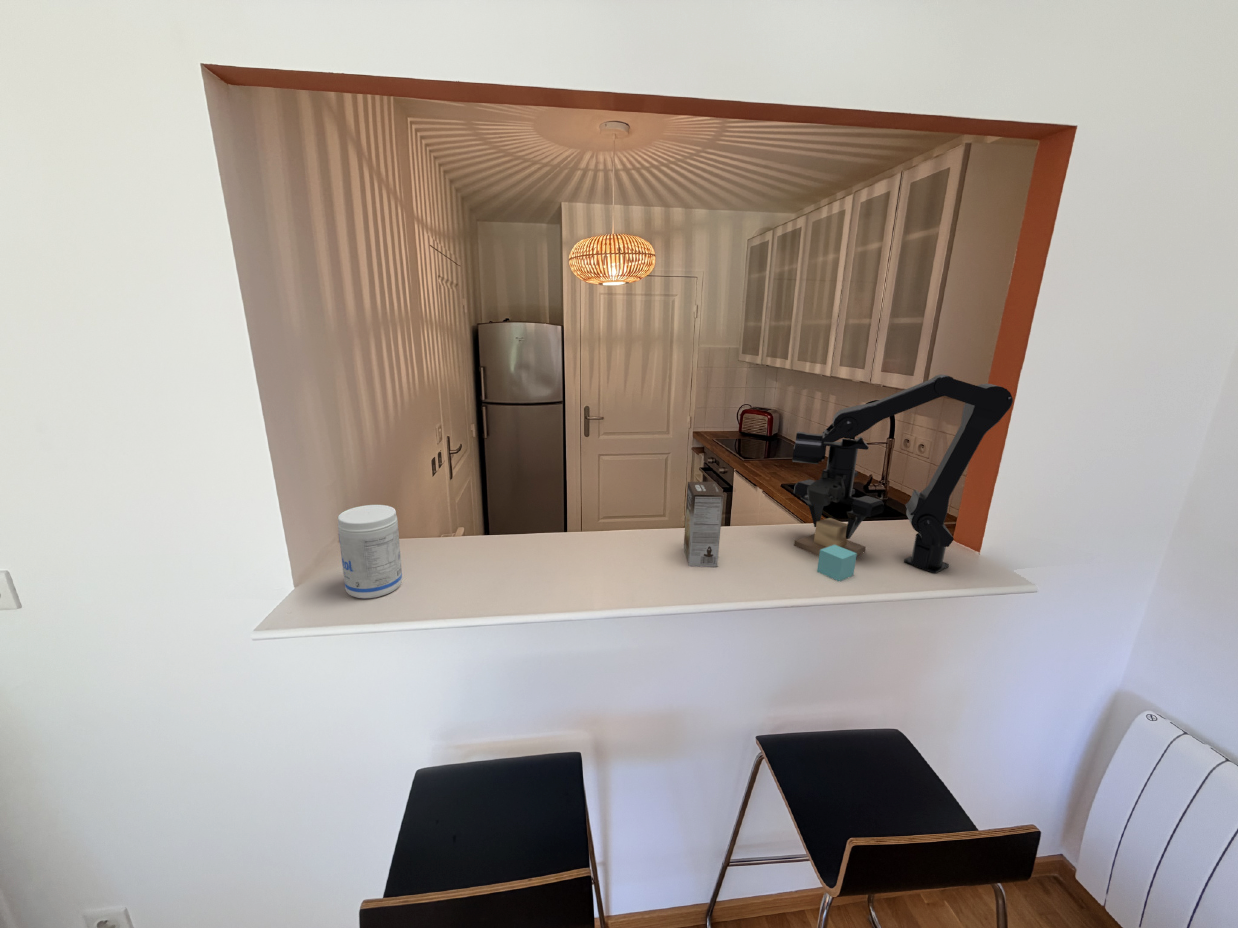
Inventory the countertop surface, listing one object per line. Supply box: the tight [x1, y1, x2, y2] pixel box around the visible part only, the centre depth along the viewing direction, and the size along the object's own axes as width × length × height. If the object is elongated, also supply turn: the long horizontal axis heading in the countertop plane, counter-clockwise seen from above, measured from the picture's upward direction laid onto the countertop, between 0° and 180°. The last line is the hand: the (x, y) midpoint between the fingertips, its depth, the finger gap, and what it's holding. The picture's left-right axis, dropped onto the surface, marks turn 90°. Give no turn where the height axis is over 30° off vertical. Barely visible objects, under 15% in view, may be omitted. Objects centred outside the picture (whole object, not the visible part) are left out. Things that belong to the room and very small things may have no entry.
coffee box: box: [683, 481, 725, 568], centre depth 104 cm, size 9×6×16 cm
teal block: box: [816, 545, 858, 582], centre depth 100 cm, size 5×5×5 cm
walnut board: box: [793, 532, 867, 557], centre depth 113 cm, size 11×11×2 cm
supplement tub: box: [337, 504, 403, 599], centre depth 89 cm, size 10×10×15 cm
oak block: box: [814, 517, 848, 547], centre depth 112 cm, size 5×5×5 cm
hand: (831, 532), depth 112 cm, fingers open, 8 cm apart
